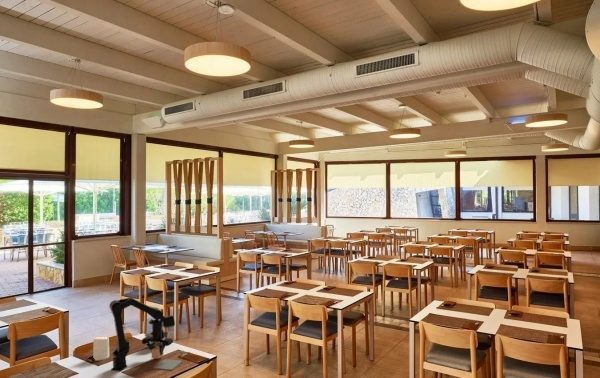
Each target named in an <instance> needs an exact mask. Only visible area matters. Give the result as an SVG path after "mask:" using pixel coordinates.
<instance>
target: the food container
mask: <svg viewBox="0 0 600 378" xmlns="http://www.w3.org/2000/svg"><path fill="white" fill-rule="evenodd" d="M162 330H163V331H164V332H165V330H164V329H162ZM144 336H145V337H147V336H150V337H152V334H151V332H149V333H147V332H145V334H144ZM162 340H164V339H162ZM160 345H161V343H157V342H155V347H159V346H160ZM146 347H147V348H148V349H149V347H148V346H147V345H146Z"/></svg>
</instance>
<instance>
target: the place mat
mask: <svg viewBox="0 0 600 378" xmlns="http://www.w3.org/2000/svg"><path fill="white" fill-rule="evenodd" d="M183 362H184V361H183V360H178V359H168V358H164V359H163V360H161V361H160V362H159V363H157V364H156V365H155V366H153V369H155V370H164V371H173V370H174V369H176V368H177V367H178V366H179V365H181V364H182V363H183Z"/></svg>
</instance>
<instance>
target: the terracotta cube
mask: <svg viewBox="0 0 600 378" xmlns="http://www.w3.org/2000/svg"><path fill="white" fill-rule="evenodd" d="M150 351H152V352H151V358H152V359H160V358H162V357H163V356H164V353H163V354H162V355H160V349H159V347H155V348H153V349H152V350H150Z"/></svg>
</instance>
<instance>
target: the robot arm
mask: <svg viewBox="0 0 600 378" xmlns="http://www.w3.org/2000/svg"><path fill="white" fill-rule="evenodd" d="M131 306H132V307H133V308H136V309H138V310H139V311H142V312H145V313H146V314H148V315H149V316H151V317H152V318H153V319H152V318H151V319H150V320H149V321H148V324H149V325H151V329H152V331H151V332H150V333H151V334H152V337H150V336H147V337H146V336H145V337H144V338H142V340H141V344H143V345H146V347H147V346H148V347H149V348H148V347H147V348H148V349H149V350H150V351H151V350H152V349H153V348H155V342H157V343H161V345H160V346H159V349H160V355H162V354H163V355H164V350H165V348H166V347H168V346H170V345H172V344H173V343H174V339H173V338H171V337H168V334H169V332H167V331H165V330H164V329H167V328H172V327H173V328H174V327H175V325H176V322H175V319H174V315H172V314H171V315H168V316H164V313H163V311H162V310H161V309H159V308H158V307H157V308H156V307H153V306H149V305H146V303H143V302H141V301H138V300H137V299H135V298H133V297H132V296H130V297H126V298H122V299H119V300H117V299H116V300H112V301H110V303H109V309H110V311H111V314H112V316H113V319H114V320H113V321H114V327H115V333H116V346H115V347H116V349H114V351H112V356H113V358H112V368H111V371H116V372H117V371H118V372H120V371H122V370H125V368H127V367H128V364H127V355H128V354H129V352H130V349H131V347H130V341H129V340H128V338H126V336H125V332H124V331H125V330H124V325H123V324H124V323H123V319H122V314H123V310H124V309H126V308H129V307H131ZM163 328H164V329H163ZM163 330H164V331H163ZM162 339H163V340H162ZM151 353H152V351H151Z"/></svg>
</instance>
